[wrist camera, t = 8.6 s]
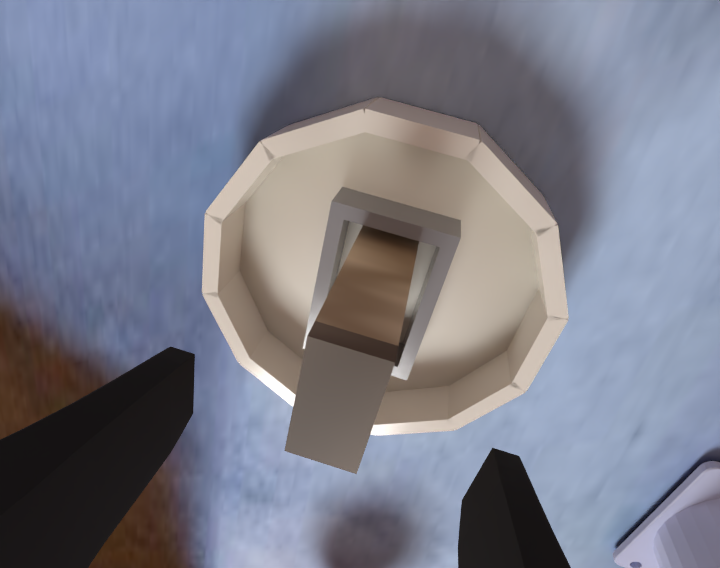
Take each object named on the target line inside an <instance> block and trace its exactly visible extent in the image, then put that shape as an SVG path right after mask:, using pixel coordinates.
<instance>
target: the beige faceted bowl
mask: <svg viewBox="0 0 720 568" xmlns="http://www.w3.org/2000/svg"><path fill="white" fill-rule="evenodd" d="M363 225H364V226H368V227H371V228H375V229H378V230H382V231H385V232H388V233H392V234H395V235H399V236H402V237H406V238H409V239H413V240H416V241H419V244H418V250H417V255H416V260H415V265H414V270H413V275H412V280H411V285H410V290H409V295H408V300H407V305H406V310H405V315H404V320H403V325H402V330H401V335H400V341H399V346H398V351H397V356H396V361H395V364H394V367H393V370H392V373H391V376H390V379H389V382H388V385H387V387H386V390H385V393H384V396H383V399H382V402H381V405H380V408H379V410H378V413H377V416H376V419H375V422H374V425H373V428H372V431H371V433H370V434H371V435H375V434H376V436H379V435H394V434H410V433H425V432H440V431H454V429H455V430H457V429H459V428H461V427H463V426H464V425H466V424H468V423H470V422H472V421H474V420H475V419H477V418H479V417H481V416H483V415H485V414H487V413H488V412H490V411H492V410H494V409H496V408H498V407H499V406H501V405H503V404H505V403H507V402H509V401H511V400H512V399H514V398H516V397H518V396H520V395H522V394H523V393H525V391H527V390H528V388H529V386H530V385H531V383H532V381H533V380H534V378H535V376H536V374H537V373H538V371H539V369H540V368H541V366H542V364H543V362H544V361H545V359H546V357H547V356H548V354H549V352H550V351H551V349H552V347H553V345H554V344H555V342H556V340H557V339H558V337H559V335H560V333H561V332H562V330H563V328H564V327H565V325H566V323H567V321H568V318H569V317H568V308H567V299H566V290H565V282H564V273H563V264H562V255H561V247H560V238H559V229H558V224H557V222H556V220H555V218H554V216H553V214H552V212H551V210H550V208H549V206H548V204H547V202H546V200H545V198H544V196H543V195H542V194H541V192H540V191H539V190H538V189H537V188H536V187H535V186H534V185H533V184H532V182H531V181H530V180H529V179H528V178H527V177H526V176H525V175H524V174H523V173H522V171H521V170H520V169H519V168H518V167H517V166H516V165H515V164H514V163H513V161H512V160H511V159H510V158H509V157H508V156H507V155H506V154H505V153H504V152H503V150H502V149H501V148H500V147H499V146H498V145H497V144H496V143H495V142H494V141H493V139H492V138H491V137H490V136H489V135H488V134H487V133H486V132H485V131H484V129H483V128H482V127H481V126H480V125H478V126H477V123H474V122H471V121H467V120H463V119H459V118H456V117H452V116H448V115H445V114H441V113H437V112H434V111H430V110H426V109H422V108H419V107H415V106H411V105H408V104H404V103H400V102H397V101H393V100H389V99H386V98H382V97H379V98H378V97H376V98H373V99H370V100H367V101H363V102H360V103H357V104H354V105H351V106H347V107H344V108H341V109H338V110H335V111H332V112H328V113H325V114H322V115H319V116H316V117H312V118H309V119H306V120H303V121H300V122H297V123H293V124H290V125H288V126H286V127H284V128H282V129H281V130H279V131H277V132H275V133H273V134H271V135H270V136H268V137H266V138H264V139H262V140H261V141H259V142H258V144H257V145H256V146H255V148H254V149H253V150H252V152H251V153H250V154H249V156H248V157H247V158H246V160H245V161H244V162H243V163H242V165H241V166H240V167H239V169H238V170H237V171H236V173H235V174H234V175H233V177H232V178H231V179H230V181H229V182H228V183H227V184H226V186H225V187H224V188H223V190H222V191H221V192H220V194H219V195H218V196H217V198H216V199H215V200H214V201H213V203H212V204H211V205H210V207H209V208H208V209H207V211H206V213H205V222H204V251H203V280H202V293H203V294H202V295H203V296H204V298H205V300H206V302H207V304H208V306H209V308H210V310H211V312H212V314H213V316H214V317H215V319H216V321H217V323H218V325H219V327H220V329H221V331H222V333H223V335H224V337H225V338H226V340H227V342H228V344H229V346H230V348H231V350H232V352H233V354H234V356H235V358H236V359H237V361H238V362H240V363H239V364H240V365H241V366H243V367H244V368H245V369H246V370H248V371H249V372H250V373H252V374H253V375H254V376H255V377H257V378H258V379H259V380H260V381H262V382H263V383H264V384H265V385H267V386H268V387H269V388H270V389H272V390H273V391H274V392H275V393H277V394H278V395H279V396H280V397H282V398H283V399H284V400H285V401H287V402H288V403H289V404H291V405H292V406H294V401H295V396H296V391H297V386H298V381H299V376H300V371H301V366H302V361H303V356H304V351H305V346H306V341H307V336H308V334H309V332H310V330H311V328H312V326H313V324H314V322H315V320H316V318H317V316H318V314H319V312H320V310H321V308H322V306H323V304H324V302H325V300H326V298H327V296H328V294H329V292H330V290H331V288H332V286H333V284H334V282H335V280H336V278H337V276H338V274H339V272H340V270H341V268H342V266H343V264H344V262H345V260H346V258H347V256H348V254H349V252H350V250H351V248H352V246H353V244H354V242H355V240H356V238H357V236H358V234H359V232H360V230H361V228H362V226H363Z"/></svg>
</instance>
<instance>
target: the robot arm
mask: <svg viewBox="0 0 720 568" xmlns="http://www.w3.org/2000/svg"><path fill="white" fill-rule="evenodd" d="M194 361H195V354H193V353H189V352H186V351H183V350H180V349H177V348H173V347H169V348H167V349H165V350H164V351H162V352H160V353H158V354H157V355H155V356H153V357H152V358H150V359H148V360H147V361H145V362H143V363H142V364H140V365H138V366H137V367H135V368H133V369H131V370H130V371H128V372H126V373H125V374H123V375H121V376H120V377H118V378H116V379H114V380H113V381H111V382H109V383H108V384H106V385H104V386H102V387H100V388H99V389H97V390H95V391H93V392H92V393H90V394H88V395H86V396H85V397H83V398H81V399H79V400H77V401H76V402H74V403H72V404H70V405H68V406H66V407H64V408H63V409H61V410H59V411H57V412H55V413H53V414H51V415H49V416H47V417H45V418H43V419H41V420H39V421H37V422H35V423H33V424H32V425H30V426H28V427H26V428H24V429H22V430H20V431H17V432H15V433H13V434H11V435H9V436H7V437H5V438H3V439H1V440H0V568H88V567H89V565H90V564H91V562H92V561H93V559H94V558H95V556H96V555H97V553H98V552H99V550H100V549H101V547H102V546H103V544H104V543H105V541H106V540H107V539H108V537H109V536H110V535H111V533H112V532H113V531H114V529H115V528H116V526H117V525H118V524H119V522H120V521H121V520H122V518H123V517H124V516H125V514H126V513H127V512H128V510H129V509H130V507H131V506H132V505H133V503H134V502H135V501H136V499H137V498H138V497H139V495H140V494H141V493H142V491H143V490H144V488H145V487H146V486H147V484H148V483H149V482H150V480H151V479H152V478H153V476H154V475H155V473H156V472H157V471H158V469H159V468H160V467H161V465H162V464H163V462H164V461H165V460H166V458H167V457H168V455H169V454H170V453H171V451H172V449H173V448H174V446H175V444H176V442H177V441H178V439H179V437H180V436H181V434H182V432H183V430H184V429H185V427H186V425H187V423H188V421H189V420H190V418H191V416H192V414H193V397H194ZM613 557H614V561H615V563H616V564H618V565H620V566H622V567H625V568H720V462H716V461H708V462H704V463H702V464H701V465H700V466H699V467H698V468H697V469H696V470H695V471H694V472H693V473H692V474H691V475H690V476H689V477H688V478H687V479H686V480H685V481H684V482H683V483H682V484H681V485H680V486H679V487H678V488H677V489H676V490H675V491H674V492H673V493H672V494H671V495H670V496H669V497H668V498H667V499H666V500H665V501H664V502H663V503H662V504H661V505H660V506H659V507H658V508H657V509H656V510H655V511H654V512H653V513H652V514H651V515H650V516H649V517H648V518H647V519H646V520H645V521H644V522H643V523H642V524H641V525H640V526H639V527H638V528H637V529H636V530H635V531H634V532H633V533H632V534H631V535H630V536H629V537H628V538H627V539H626V540H625V541H624V542H623V543H622V544H621V545H620V546H619V547H618V548H617V549H616V550H615V551H614V552H613ZM458 568H571V567H570V565H569V563H568V561H567V559H566V557H565V555H564V553H563V551H562V549H561V547H560V545H559V543H558V541H557V539H556V537H555V534H554V532H553V530H552V528H551V526H550V524H549V522H548V519H547V517H546V515H545V513H544V511H543V508H542V506H541V504H540V502H539V500H538V497H537V495H536V493H535V491H534V488H533V486H532V484H531V481H530V479H529V477H528V475H527V472H526V470H525V468H524V466H523V463H522V461H521V459H520V457H519V456H517V455H514V454H510V453H507V452H504V451H501V450H498V449H494V448H492V450H491V451H490V453H489V455H488V456H487V458H486V460H485V462H484V463H483V465H482V467H481V469H480V470H479V472H478V474H477V475H476V477H475V479H474V481H473V482H472V484H471V486H470V487H469V489H468V491H467V493H466V494H465V496H464V498H463V499H462V506H461V517H460V528H459V541H458Z"/></svg>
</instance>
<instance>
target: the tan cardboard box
mask: <svg viewBox="0 0 720 568" xmlns="http://www.w3.org/2000/svg"><path fill="white" fill-rule="evenodd" d="M418 244H419V241H416V240H413V239H409V238H406V237H402V236H399V235H395V234H392V233H388V232H385V231H382V230H378V229H375V228H371V227H368V226H364V225H363V226H362V228H361V230H360V232H359V234H358V236H357V238H356V240H355V242H354V244H353V246H352V248H351V250H350V252H349V254H348V256H347V258H346V260H345V262H344V264H343V266H342V268H341V270H340V272H339V274H338V276H337V278H336V280H335V282H334V284H333V286H332V288H331V290H330V292H329V294H328V296H327V298H326V300H325V302H324V304H323V306H322V308H321V310H320V312H319V314H318V316H317V318H316V320H315V322H314V324H313V326H312V328H311V330H310V332H309V334H308V336H307V341H306V346H305V351H304V356H303V361H302V366H301V371H300V376H299V381H298V386H297V391H296V396H295V401H294V406H293V411H292V416H291V421H290V426H289V431H288V436H287V441H286V446H285V451H287V452H290V453H293V454H296V455H299V456H302V457H305V458H308V459H311V460H315V461H318V462H321V463H324V464H327V465H330V466H333V467H336V468H340V469H343V470H346V471H349V472H352V473H355V474H357V471H358V468H359V465H360V462H361V459H362V456H363V454H364V451H365V448H366V445H367V442H368V439H369V436H370V433H371V431H372V428H373V425H374V422H375V419H376V416H377V413H378V410H379V408H380V405H381V402H382V399H383V396H384V393H385V390H386V387H387V385H388V382H389V379H390V376H391V373H392V370H393V367H394V364H395V361H396V356H397V351H398V346H399V341H400V335H401V330H402V325H403V320H404V315H405V310H406V305H407V300H408V295H409V290H410V285H411V280H412V275H413V270H414V265H415V260H416V255H417V250H418Z"/></svg>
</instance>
